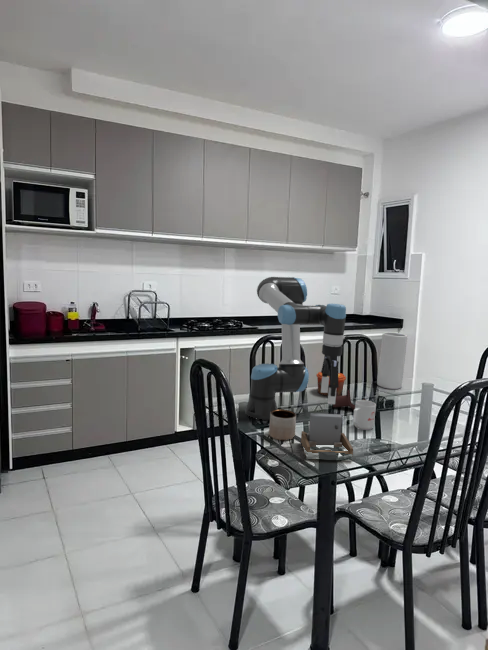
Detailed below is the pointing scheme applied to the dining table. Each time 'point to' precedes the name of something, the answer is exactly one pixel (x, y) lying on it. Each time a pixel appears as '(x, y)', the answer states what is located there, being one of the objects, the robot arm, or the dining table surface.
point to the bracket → (344, 401)
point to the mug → (364, 414)
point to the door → (325, 428)
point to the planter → (282, 424)
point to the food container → (340, 381)
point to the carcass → (308, 444)
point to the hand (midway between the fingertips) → (327, 398)
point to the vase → (392, 360)
